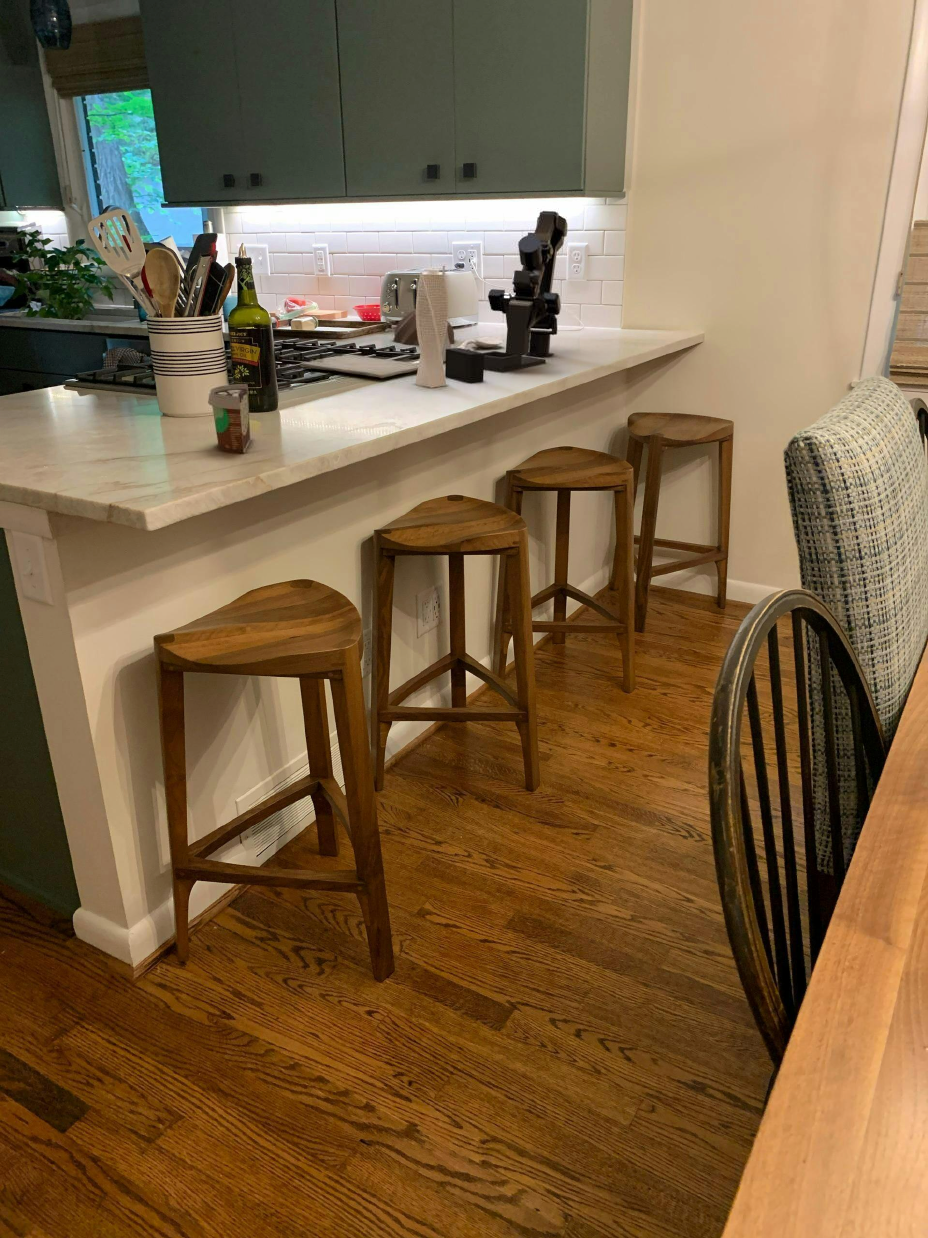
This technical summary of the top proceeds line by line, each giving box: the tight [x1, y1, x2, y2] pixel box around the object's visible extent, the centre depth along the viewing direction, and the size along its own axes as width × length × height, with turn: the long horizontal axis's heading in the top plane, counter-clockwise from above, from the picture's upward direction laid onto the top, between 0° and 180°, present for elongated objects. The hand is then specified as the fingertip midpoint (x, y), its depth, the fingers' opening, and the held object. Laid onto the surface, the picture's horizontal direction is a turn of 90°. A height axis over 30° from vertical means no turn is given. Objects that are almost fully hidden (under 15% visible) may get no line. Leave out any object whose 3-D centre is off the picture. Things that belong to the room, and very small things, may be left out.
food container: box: [207, 383, 251, 454], centre depth 164 cm, size 12×6×10 cm, turn 5°
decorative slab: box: [299, 354, 419, 379], centre depth 242 cm, size 27×21×2 cm
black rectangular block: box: [444, 347, 485, 384], centre depth 234 cm, size 10×5×7 cm, turn 39°
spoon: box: [457, 336, 504, 349], centre depth 278 cm, size 9×32×4 cm, turn 153°
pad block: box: [505, 300, 533, 356], centre depth 243 cm, size 5×5×13 cm
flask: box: [441, 323, 452, 363], centre depth 259 cm, size 7×7×10 cm
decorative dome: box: [393, 309, 455, 346], centre depth 293 cm, size 19×20×10 cm
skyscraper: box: [415, 262, 449, 389], centre depth 221 cm, size 8×8×28 cm
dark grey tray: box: [483, 350, 547, 373], centre depth 258 cm, size 22×16×4 cm
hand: (517, 327), depth 242 cm, fingers closed on pad block, 5 cm apart
